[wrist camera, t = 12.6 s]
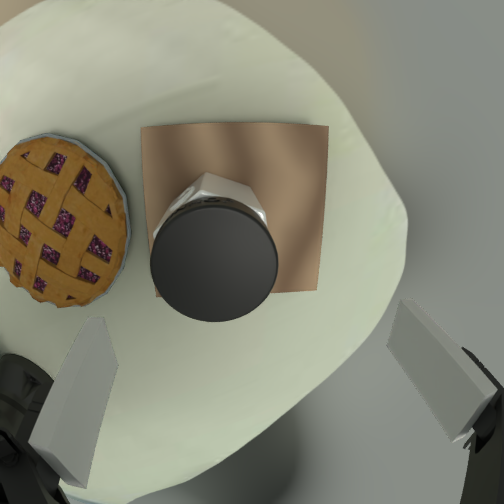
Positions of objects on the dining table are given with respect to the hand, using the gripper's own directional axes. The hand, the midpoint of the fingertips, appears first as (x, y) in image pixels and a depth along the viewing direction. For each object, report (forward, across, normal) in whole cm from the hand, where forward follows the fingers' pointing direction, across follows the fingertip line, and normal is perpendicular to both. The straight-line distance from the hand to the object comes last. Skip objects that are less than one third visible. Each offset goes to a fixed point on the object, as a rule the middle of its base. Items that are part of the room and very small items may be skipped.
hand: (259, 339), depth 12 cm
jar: (+19, -2, 0) cm, 19 cm away
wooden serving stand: (+24, 0, 0) cm, 24 cm away
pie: (+25, -22, -1) cm, 33 cm away
